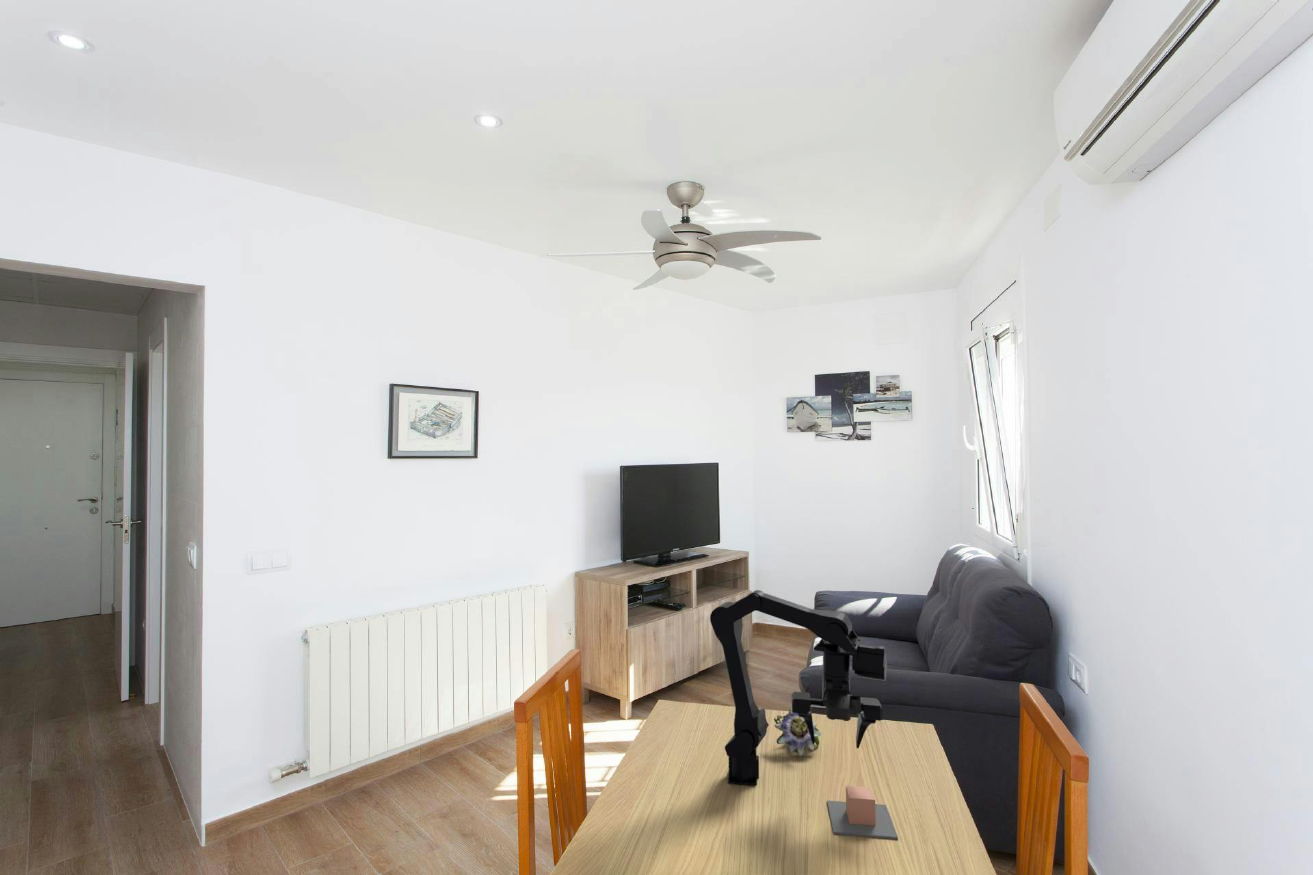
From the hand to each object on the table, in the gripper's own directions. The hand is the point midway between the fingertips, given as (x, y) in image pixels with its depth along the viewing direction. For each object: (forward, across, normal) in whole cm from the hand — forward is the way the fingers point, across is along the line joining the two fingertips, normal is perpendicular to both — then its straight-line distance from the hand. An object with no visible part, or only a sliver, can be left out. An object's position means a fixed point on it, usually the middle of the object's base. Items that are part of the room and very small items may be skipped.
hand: (835, 745), depth 142 cm
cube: (+10, +4, -8) cm, 14 cm away
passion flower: (+12, -7, +24) cm, 27 cm away
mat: (+11, +4, -8) cm, 14 cm away
